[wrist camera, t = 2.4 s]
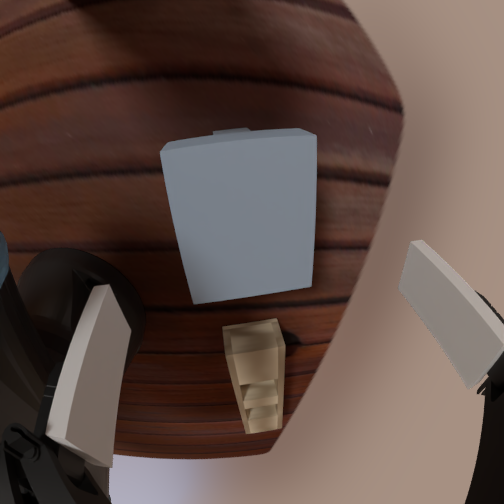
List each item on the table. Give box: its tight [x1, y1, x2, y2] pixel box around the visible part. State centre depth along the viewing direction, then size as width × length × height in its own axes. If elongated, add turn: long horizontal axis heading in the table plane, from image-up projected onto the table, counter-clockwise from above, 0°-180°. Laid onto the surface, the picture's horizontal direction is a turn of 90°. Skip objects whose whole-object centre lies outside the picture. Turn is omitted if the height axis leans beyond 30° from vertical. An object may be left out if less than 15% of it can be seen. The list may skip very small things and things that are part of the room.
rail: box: [222, 318, 285, 434], centre depth 34 cm, size 6×24×4 cm, turn 4°
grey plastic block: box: [160, 128, 317, 304], centre depth 19 cm, size 8×10×7 cm
